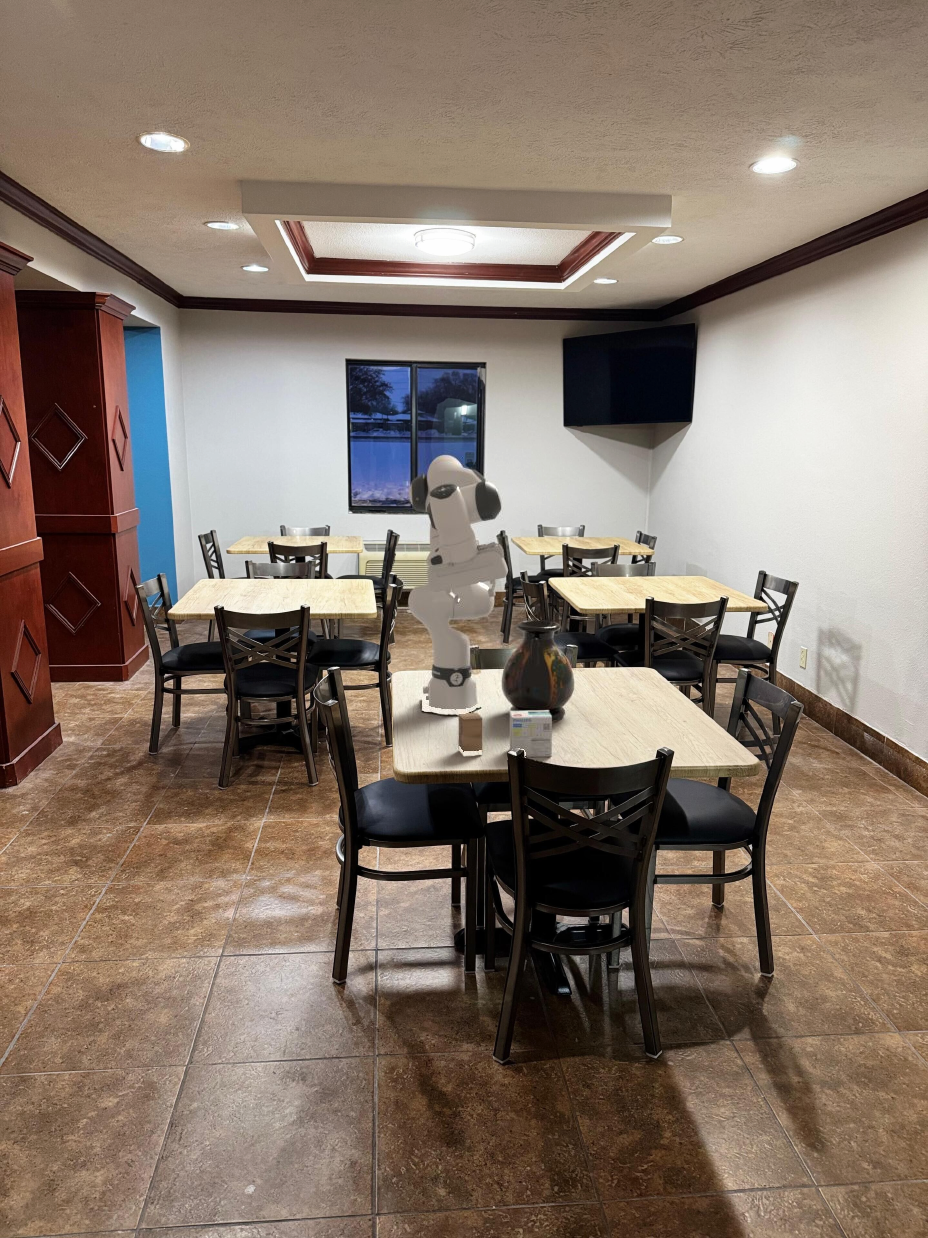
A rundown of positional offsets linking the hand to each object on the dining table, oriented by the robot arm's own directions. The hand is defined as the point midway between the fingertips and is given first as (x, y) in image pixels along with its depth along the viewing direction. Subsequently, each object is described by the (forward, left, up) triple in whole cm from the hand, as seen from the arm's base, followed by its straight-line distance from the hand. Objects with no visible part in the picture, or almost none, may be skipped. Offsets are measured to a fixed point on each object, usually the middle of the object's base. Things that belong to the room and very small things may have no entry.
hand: (474, 599), depth 215 cm
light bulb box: (+7, +13, -40) cm, 43 cm away
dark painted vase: (-24, +26, -40) cm, 54 cm away
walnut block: (+3, -2, -40) cm, 40 cm away
